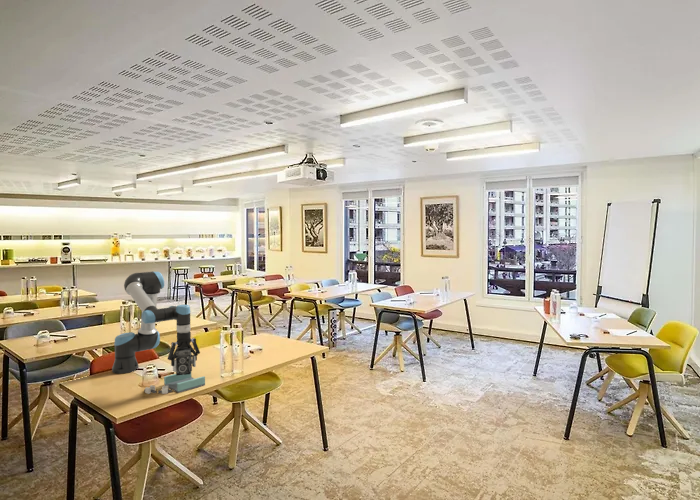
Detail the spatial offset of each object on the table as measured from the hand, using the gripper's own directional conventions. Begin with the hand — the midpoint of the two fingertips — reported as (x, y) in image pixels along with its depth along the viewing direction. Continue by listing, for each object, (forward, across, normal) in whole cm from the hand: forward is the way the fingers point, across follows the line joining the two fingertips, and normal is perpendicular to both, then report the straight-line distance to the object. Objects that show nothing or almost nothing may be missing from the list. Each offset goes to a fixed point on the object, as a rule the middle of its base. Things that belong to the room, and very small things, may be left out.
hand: (184, 368), depth 246 cm
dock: (+10, 0, 0) cm, 10 cm away
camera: (+3, 0, 0) cm, 3 cm away
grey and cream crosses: (+10, -15, +2) cm, 18 cm away
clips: (+10, -15, 0) cm, 18 cm away
